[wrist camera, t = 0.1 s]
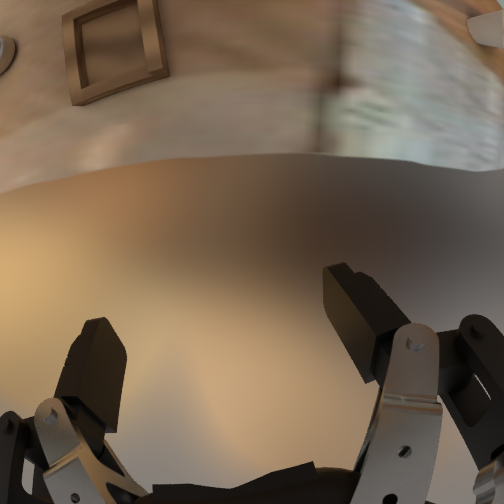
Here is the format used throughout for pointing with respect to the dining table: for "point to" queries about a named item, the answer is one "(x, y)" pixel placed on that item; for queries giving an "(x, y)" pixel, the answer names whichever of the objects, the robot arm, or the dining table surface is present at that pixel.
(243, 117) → the dining table surface
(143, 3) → the drawer
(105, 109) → the dining table surface
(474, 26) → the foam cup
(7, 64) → the plastic bottle
